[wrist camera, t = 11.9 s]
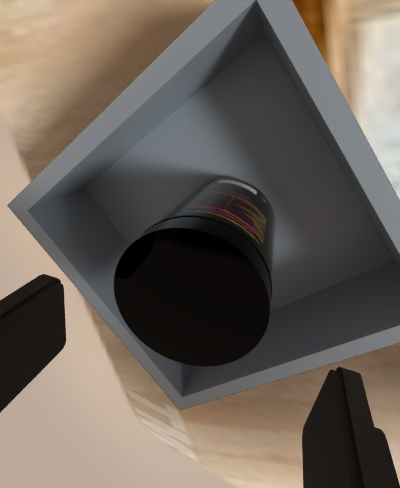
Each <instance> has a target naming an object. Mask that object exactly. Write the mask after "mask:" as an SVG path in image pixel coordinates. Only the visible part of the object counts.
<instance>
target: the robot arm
mask: <svg viewBox="0 0 400 488" xmlns="http://www.w3.org/2000/svg"><path fill="white" fill-rule="evenodd" d="M65 343H66V328H65V308H64V288H63V285H62V284H61V282H60V280H59V279H57V278H55V277H51V276H48V275H45V274H42V275H40V276H38V277H37V278H35V279H33V280H32V281H30V282H29V283H27V284H25V285H24V286H23V287H21V288H19V289H18V290H16V291H15V292H13V293H11V294H10V295H8V296H6V297H5V298H3V299H2V300H0V412H1V411H2V410H3V409H4V408H5V407H6V406H7V405H8V404H9V403H10V402H11V401H12V400H13V399H14V398H15V397H16V396H17V395H18V394H19V393H20V392H21V391H22V390H23V389H24V388H25V387H26V386H27V385H28V384H29V383H30V382H31V381H32V380H33V379H34V378H35V377H36V376H37V375H38V374H39V373H40V372H41V370H43V368H45V366H47V364H48V363H49V362H50V361H51V360H52V359H53V358H54V357H55V356H56V355H57V354H58V353H59V352H60V351H61V350H62V349H63V347H64V345H65ZM302 449H303V487H304V488H400V485H399V481H398V478H397V474H396V471H395V467H394V464H393V460H392V457H391V453H390V450H389V446H388V443H387V439H386V437H385V434H384V433H383V431H382V430H380V429H378V428H375V427H374V424H373V420H372V416H371V412H370V408H369V405H368V401H367V397H366V393H365V389H364V385H363V381H362V377H361V375H360V374H359V373H357V372H354V371H351V370H348V369H345V368H341V367H338V368H337V370H336V371H335V370H330V371H329V373H328V375H327V378H326V380H325V382H324V384H323V386H322V388H321V390H320V393H319V395H318V397H317V399H316V401H315V403H314V405H313V408H312V410H311V412H310V414H309V416H308V418H307V421H306V423H305V425H304V428H303V434H302Z"/></svg>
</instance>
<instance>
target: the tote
mask: <svg viewBox="0 0 400 488" xmlns="http://www.w3.org/2000/svg"><path fill="white" fill-rule="evenodd" d="M218 178H235V179H239V180H242V181H245V182H247V183H250V184H251V185H253V186H255V187H256V188H257V189H259V190H260V191H261V192H262V193H263V194H264V195H265V197H266V198H267V199H268V201H269V202H270V204H271V206H272V209H273V211H274V215H275V220H276V230H275V243H274V256H273V268H272V298H271V304H270V317H269V322H268V326H267V329H266V331H265V334H264V336H263V337H262V339H261V341H260V342H259V343H258V344H257V346H256V347H255V348H254V349H253V350H252V351H251V352H249V353H248V354H247V355H245V356H244V357H242V358H240V359H238V360H236V361H234V362H231V363H228V364H224V365H219V366H208V367H203V366H192V365H187V364H183V363H179V362H176V361H173V360H171V359H168V358H166V357H164V356H162V355H160V354H158V353H157V352H155V351H153V350H152V349H150V348H149V347H148V346H146V345H145V344H144V343H143V342H142V341H141V340H139V339H138V338H137V337H136V336H135V334H134V333H133V332H132V331H131V330H130V328H129V327H128V326H127V324H126V323H125V321H124V319H123V318H122V316H121V314H120V312H119V309H118V306H117V304H116V300H115V295H114V275H115V270H116V267H117V264H118V262H119V260H120V258H121V256H122V255H123V253H124V252H125V250H126V249H127V248H128V247H129V246H130V245H131V244H132V243H133V242H134V241H136V240H137V239H138V238H139V237H140V236H141V235H142V234H143V233H144V232H145V231H146V230H147V229H148V228H149V227H151V226H152V225H154V224H155V223H157V222H159V221H160V220H161V219H162V218H163V217H164V216H165V215H167V214H168V213H169V212H170V211H171V210H172V209H173V208H175V207H176V206H177V205H178V204H179V203H180V202H181V201H183V200H184V199H185V198H186V197H187V196H188V195H189V194H191V193H192V192H193V191H194V190H195V189H196V188H197V187H199V186H200V185H202V184H204V183H205V182H208V181H210V180H213V179H218ZM8 207H9V208H10V209H11V211H12V212H13V213H14V214H15V215H16V216H17V218H18V219H19V220H20V221H21V222H22V224H23V225H24V226H25V227H26V228H27V230H28V231H29V232H30V233H31V234H32V235H33V237H34V238H35V239H36V240H37V241H38V243H39V244H40V245H41V246H42V247H43V249H44V250H45V251H46V252H47V253H48V254H49V256H50V257H51V258H52V259H53V260H54V262H55V263H56V264H57V265H58V266H59V268H60V269H61V270H62V271H63V272H64V274H65V275H66V276H67V277H68V278H69V279H70V281H71V282H72V283H73V284H74V285H75V287H76V288H77V289H78V290H79V291H80V293H81V294H82V295H83V296H84V297H85V298H86V300H87V301H88V302H89V303H90V304H91V306H92V307H93V308H94V309H95V310H96V312H97V313H98V314H99V315H100V316H101V317H102V319H103V320H104V321H105V322H106V323H107V325H108V326H109V327H110V328H111V329H112V331H113V332H114V333H115V334H116V335H117V337H118V338H119V339H120V340H121V341H122V342H123V344H124V345H125V346H126V347H127V348H128V350H129V351H130V352H131V353H132V354H133V356H134V357H135V358H136V359H137V360H138V361H139V363H140V364H141V365H142V366H143V367H144V369H145V370H146V371H147V372H148V373H149V375H150V376H151V377H152V378H153V379H154V380H155V382H156V383H157V384H158V385H159V386H160V388H161V389H162V390H163V391H164V392H165V394H166V395H167V396H168V397H169V398H170V399H171V401H172V402H173V403H174V404H175V405H176V407H177V408H178V409H179V410H183V409H186V408H189V407H193V406H196V405H199V404H202V403H206V402H209V401H212V400H215V399H219V398H222V397H225V396H228V395H232V394H235V393H238V392H241V391H245V390H248V389H251V388H254V387H257V386H261V385H264V384H267V383H270V382H274V381H277V380H280V379H283V378H287V377H290V376H293V375H296V374H300V373H303V372H306V371H309V370H313V369H316V368H319V367H322V366H325V365H329V364H332V363H335V362H338V361H342V360H345V359H348V358H351V357H355V356H358V355H361V354H364V353H368V352H371V351H374V350H377V349H381V348H384V347H387V346H390V345H393V344H397V343H400V200H399V198H398V196H397V194H396V192H395V191H394V189H393V187H392V185H391V183H390V181H389V179H388V178H387V176H386V174H385V172H384V170H383V168H382V166H381V165H380V163H379V161H378V159H377V157H376V155H375V153H374V152H373V150H372V148H371V146H370V144H369V142H368V141H367V139H366V137H365V135H364V133H363V131H362V129H361V128H360V126H359V124H358V122H357V120H356V118H355V116H354V115H353V113H352V111H351V109H350V107H349V105H348V103H347V102H346V100H345V98H344V96H343V94H342V92H341V90H340V89H339V87H338V85H337V83H336V81H335V79H334V77H333V76H332V74H331V72H330V70H329V68H328V66H327V64H326V63H325V61H324V59H323V57H322V55H321V53H320V52H319V50H318V48H317V46H316V44H315V42H314V40H313V39H312V37H311V35H310V33H309V31H308V29H307V27H306V26H305V24H304V22H303V20H302V18H301V16H300V14H299V13H298V11H297V9H296V7H295V5H294V3H293V1H292V0H215V1H214V2H213V3H212V4H211V5H210V6H209V7H208V8H207V9H206V10H205V11H204V12H203V13H202V14H201V15H200V16H199V17H198V18H197V19H196V20H195V21H194V22H193V23H192V24H191V25H190V26H189V27H188V28H187V29H186V30H185V31H184V32H183V33H182V34H181V35H180V36H179V37H178V38H177V39H176V40H175V41H174V42H173V43H171V44H170V45H169V46H168V47H167V48H166V49H165V50H164V51H163V52H162V53H161V54H160V55H159V56H158V57H157V58H156V59H155V60H154V61H153V62H152V63H151V64H150V65H149V66H148V67H147V68H146V69H145V70H144V71H143V72H142V73H141V74H140V75H139V76H138V77H137V78H136V79H135V80H134V81H133V82H132V83H131V84H130V85H129V86H128V87H127V88H126V89H125V90H124V91H123V92H122V93H121V94H120V95H119V96H118V97H117V98H116V99H115V100H114V101H113V102H112V103H111V104H110V105H109V106H108V107H107V108H106V109H105V110H104V111H103V112H102V113H101V114H100V115H99V116H98V117H96V118H95V119H94V120H93V121H92V122H91V123H90V124H89V125H88V126H87V127H86V128H85V129H84V130H83V131H82V132H81V133H80V134H79V135H78V136H77V137H76V138H75V139H74V140H73V141H72V142H71V143H70V144H69V145H68V146H67V147H66V148H65V149H64V150H63V151H62V152H61V153H60V154H59V155H58V156H57V157H56V158H55V159H54V160H53V161H52V162H51V163H50V164H49V165H48V166H47V167H46V168H45V169H44V170H43V171H42V172H41V173H40V174H39V175H38V176H37V177H36V178H35V179H34V180H33V181H32V182H31V183H30V184H29V185H28V186H27V187H26V188H25V189H24V190H23V191H22V192H21V193H19V194H18V195H17V196H16V197H15V198H14V199H13V200H12V201H11V202H10V204H8Z"/></svg>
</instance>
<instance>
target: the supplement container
mask: <svg viewBox="0 0 400 488" xmlns="http://www.w3.org/2000/svg"><path fill="white" fill-rule="evenodd" d="M275 230H276V220H275V215H274V211H273V209H272V206H271V204H270V202H269V201H268V199H267V198H266V197H265V195H264V194H263V193H262V192H261V191H260V190H259V189H257V188H256V187H255V186H253V185H251V184H250V183H247V182H245V181H242V180H239V179H235V178H218V179H213V180H210V181H208V182H205V183H204V184H202V185H200V186H199V187H197V188H196V189H195V190H194V191H193V192H192V193H191V194H189V195H188V196H187V197H186V198H185V199H184V200H183V201H181V202H180V203H179V204H178V205H177V206H176V207H175V208H173V209H172V210H171V211H170V212H169V213H168V214H167V215H165V216H164V217H163V218H162V219H161V220H160V221H159V222H157V223H155V224H154V225H152V226H151V227H149V228H148V229H147V230H146V231H145V232H144V233H143V234H142V235H141V236H140V237H139V238H138V239H137V240H136V241H134V242H133V243H132V244H131V245H130V246H129V247H128V248H127V249H126V250H125V252H124V253H123V255H122V256H121V258H120V260H119V262H118V264H117V267H116V270H115V275H114V295H115V300H116V304H117V306H118V309H119V312H120V314H121V316H122V318H123V319H124V321H125V323H126V324H127V326H128V327H129V328H130V330H131V331H132V332H133V333H134V334H135V336H136V337H137V338H138V339H139V340H141V341H142V342H143V343H144V344H145V345H146V346H148V347H149V348H150V349H152V350H153V351H155V352H157V353H158V354H160V355H162V356H164V357H166V358H168V359H171V360H173V361H176V362H179V363H183V364H187V365H192V366H203V367H208V366H219V365H224V364H228V363H231V362H234V361H236V360H238V359H240V358H242V357H244V356H245V355H247V354H248V353H249V352H251V351H252V350H253V349H254V348H255V347H256V346H257V344H258V343H259V342H260V341H261V339H262V337H263V336H264V334H265V331H266V329H267V326H268V322H269V317H270V304H271V298H272V268H273V256H274V243H275Z"/></svg>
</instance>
